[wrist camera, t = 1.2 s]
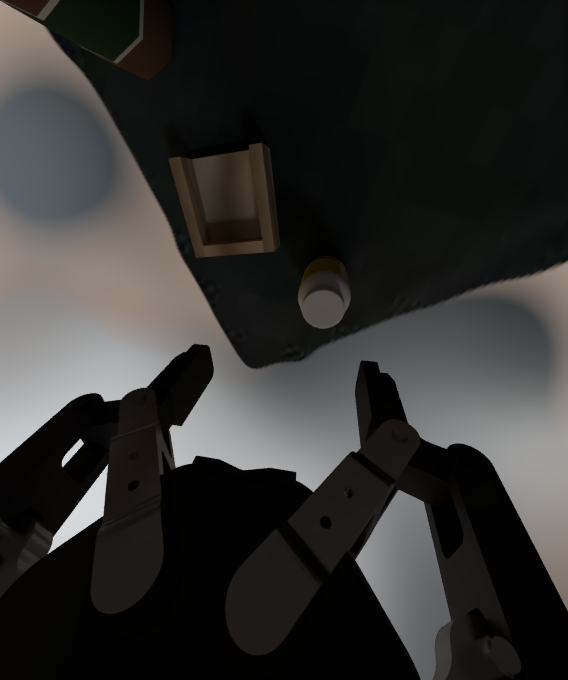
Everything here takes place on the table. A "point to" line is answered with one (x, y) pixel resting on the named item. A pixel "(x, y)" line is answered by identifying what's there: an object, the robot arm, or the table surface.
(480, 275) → the table surface
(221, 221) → the u holder
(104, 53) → the beer bottle
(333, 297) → the supplement bottle
